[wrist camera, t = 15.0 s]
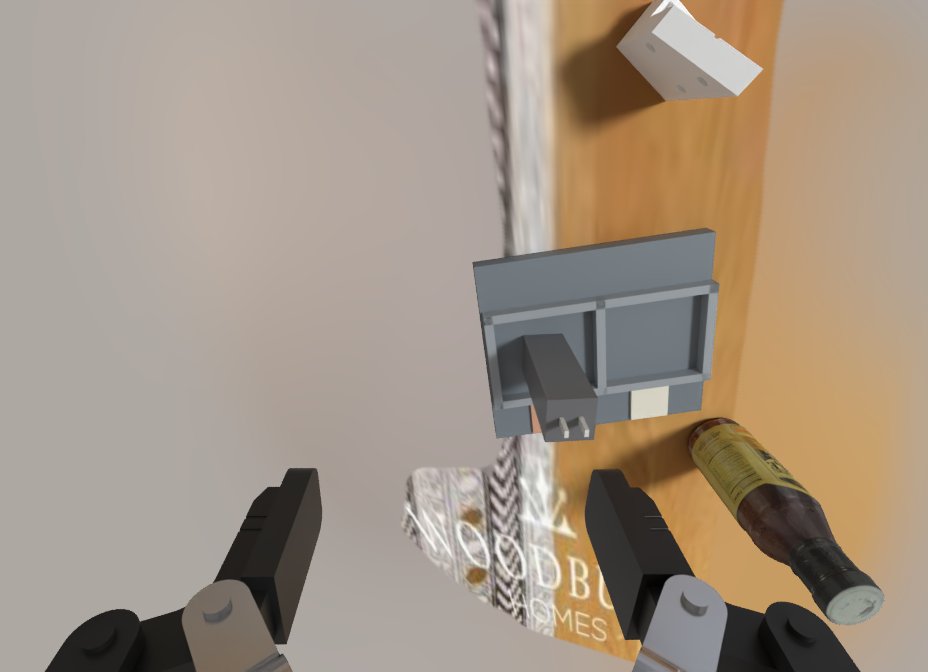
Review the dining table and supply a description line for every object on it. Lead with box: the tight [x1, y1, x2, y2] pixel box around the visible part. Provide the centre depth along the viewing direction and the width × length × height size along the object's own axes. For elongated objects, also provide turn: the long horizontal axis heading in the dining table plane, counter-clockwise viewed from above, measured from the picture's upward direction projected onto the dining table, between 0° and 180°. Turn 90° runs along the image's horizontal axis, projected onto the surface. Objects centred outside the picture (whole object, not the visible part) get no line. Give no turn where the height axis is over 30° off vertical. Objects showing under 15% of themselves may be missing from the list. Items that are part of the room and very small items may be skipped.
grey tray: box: [473, 228, 719, 438], centre depth 44 cm, size 18×21×3 cm
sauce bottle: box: [688, 418, 884, 625], centre depth 42 cm, size 6×6×20 cm
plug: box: [522, 333, 598, 442], centre depth 39 cm, size 4×4×13 cm
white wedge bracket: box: [616, 0, 763, 101], centre depth 33 cm, size 4×10×9 cm, turn 51°
